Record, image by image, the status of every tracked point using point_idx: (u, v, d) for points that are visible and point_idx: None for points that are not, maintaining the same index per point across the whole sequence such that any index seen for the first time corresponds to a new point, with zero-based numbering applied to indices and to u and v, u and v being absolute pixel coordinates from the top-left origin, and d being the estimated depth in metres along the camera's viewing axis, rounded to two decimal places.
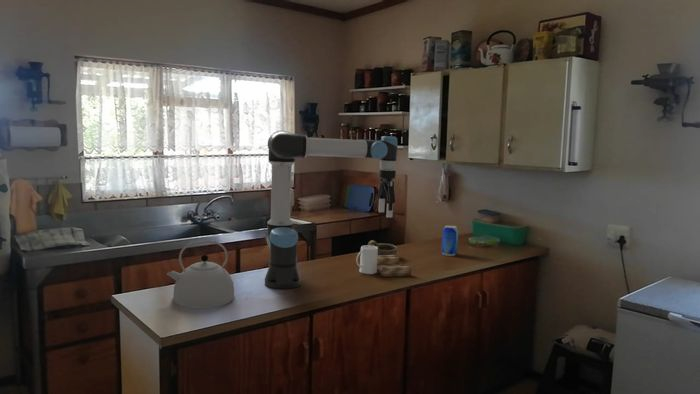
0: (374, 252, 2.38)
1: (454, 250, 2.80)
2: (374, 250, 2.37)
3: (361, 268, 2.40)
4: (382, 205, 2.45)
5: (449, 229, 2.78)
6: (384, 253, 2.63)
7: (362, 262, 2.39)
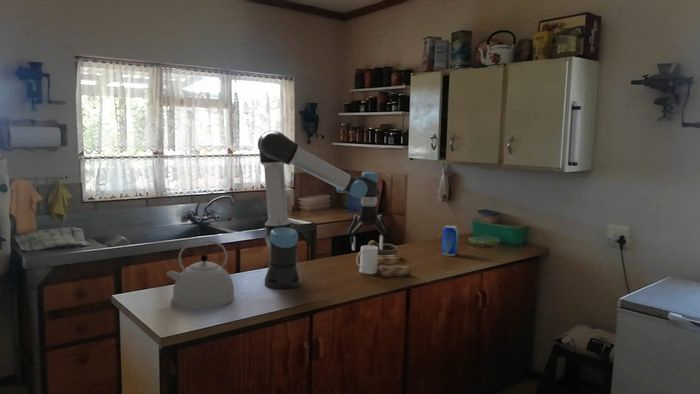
0: (374, 252, 2.38)
1: (454, 250, 2.80)
2: (374, 250, 2.37)
3: (361, 268, 2.40)
4: (380, 242, 2.41)
5: (449, 229, 2.78)
6: (384, 253, 2.63)
7: (362, 262, 2.39)
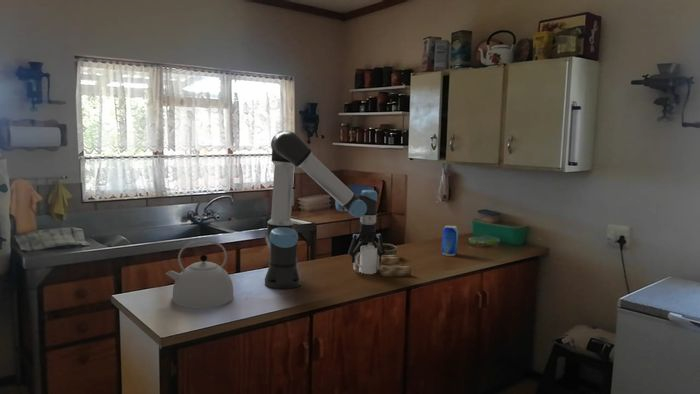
0: (373, 252, 2.37)
1: (454, 250, 2.80)
2: (374, 249, 2.37)
3: (361, 268, 2.40)
4: None
5: (449, 229, 2.78)
6: None
7: (362, 262, 2.39)
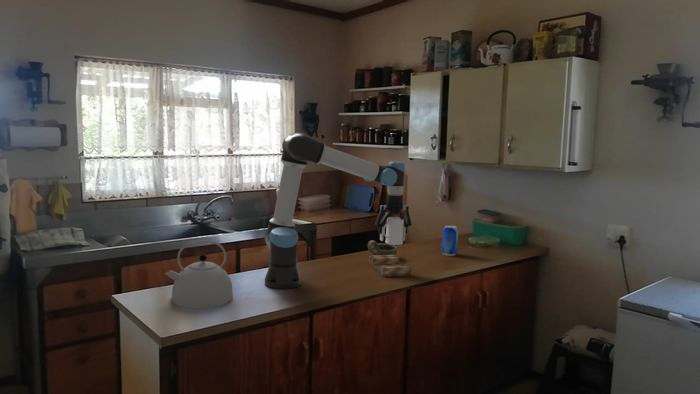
0: (400, 223, 2.40)
1: (454, 250, 2.80)
2: (400, 220, 2.40)
3: (387, 239, 2.42)
4: (403, 233, 2.44)
5: (449, 229, 2.78)
6: (384, 253, 2.63)
7: (388, 233, 2.41)
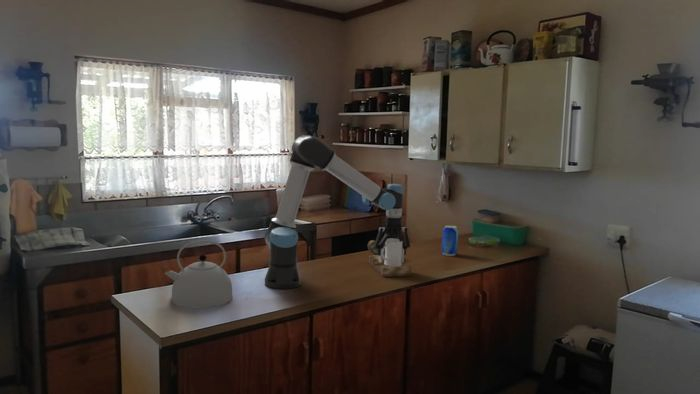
0: (399, 245, 2.41)
1: (454, 250, 2.80)
2: (399, 242, 2.41)
3: (386, 261, 2.43)
4: None
5: (449, 229, 2.78)
6: (384, 253, 2.63)
7: (387, 255, 2.43)
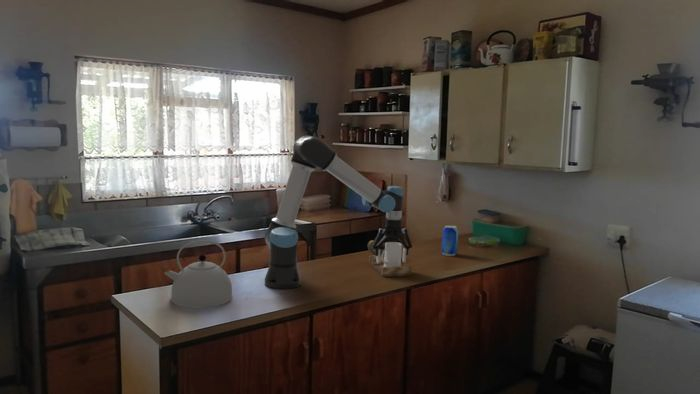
0: (398, 249, 2.41)
1: (454, 250, 2.80)
2: (399, 246, 2.41)
3: (386, 264, 2.43)
4: (403, 255, 2.46)
5: (449, 229, 2.78)
6: (384, 253, 2.63)
7: (387, 259, 2.43)
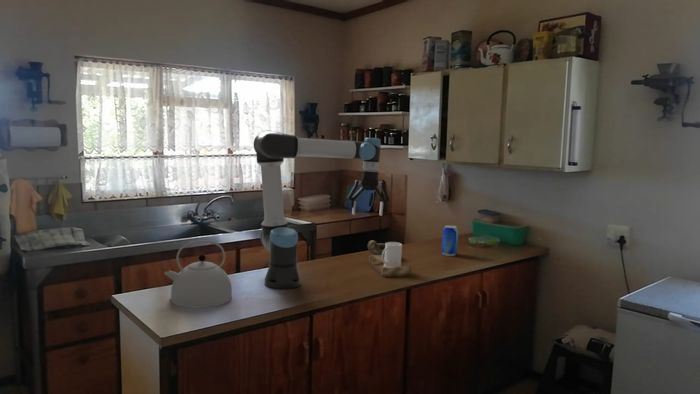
0: (398, 249, 2.41)
1: (454, 250, 2.80)
2: (399, 246, 2.41)
3: (386, 265, 2.43)
4: (380, 208, 2.44)
5: (449, 229, 2.78)
6: (384, 253, 2.63)
7: (387, 259, 2.43)
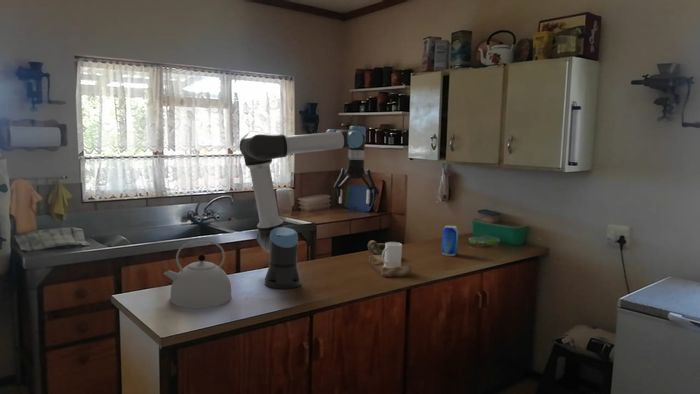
0: (398, 249, 2.41)
1: (454, 250, 2.80)
2: (399, 246, 2.41)
3: (386, 265, 2.43)
4: (367, 196, 2.44)
5: (449, 229, 2.78)
6: (384, 253, 2.63)
7: (387, 259, 2.43)
